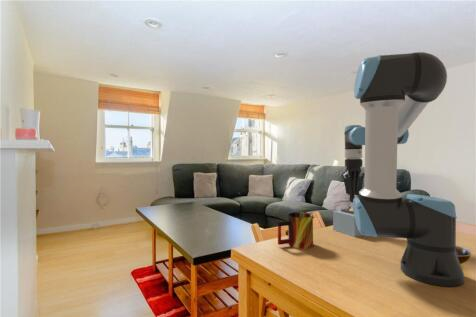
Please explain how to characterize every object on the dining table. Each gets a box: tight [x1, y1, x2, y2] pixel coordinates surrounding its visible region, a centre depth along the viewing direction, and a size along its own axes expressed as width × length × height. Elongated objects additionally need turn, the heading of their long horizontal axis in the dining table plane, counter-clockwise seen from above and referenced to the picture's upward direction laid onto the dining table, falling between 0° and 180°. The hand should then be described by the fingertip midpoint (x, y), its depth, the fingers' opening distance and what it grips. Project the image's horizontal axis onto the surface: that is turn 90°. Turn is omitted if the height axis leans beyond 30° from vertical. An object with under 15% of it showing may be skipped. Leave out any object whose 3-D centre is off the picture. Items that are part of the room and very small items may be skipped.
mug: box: [277, 211, 314, 250], centre depth 103 cm, size 10×14×12 cm
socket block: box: [332, 207, 363, 238], centre depth 122 cm, size 14×12×10 cm
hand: (353, 209), depth 121 cm, fingers closed
